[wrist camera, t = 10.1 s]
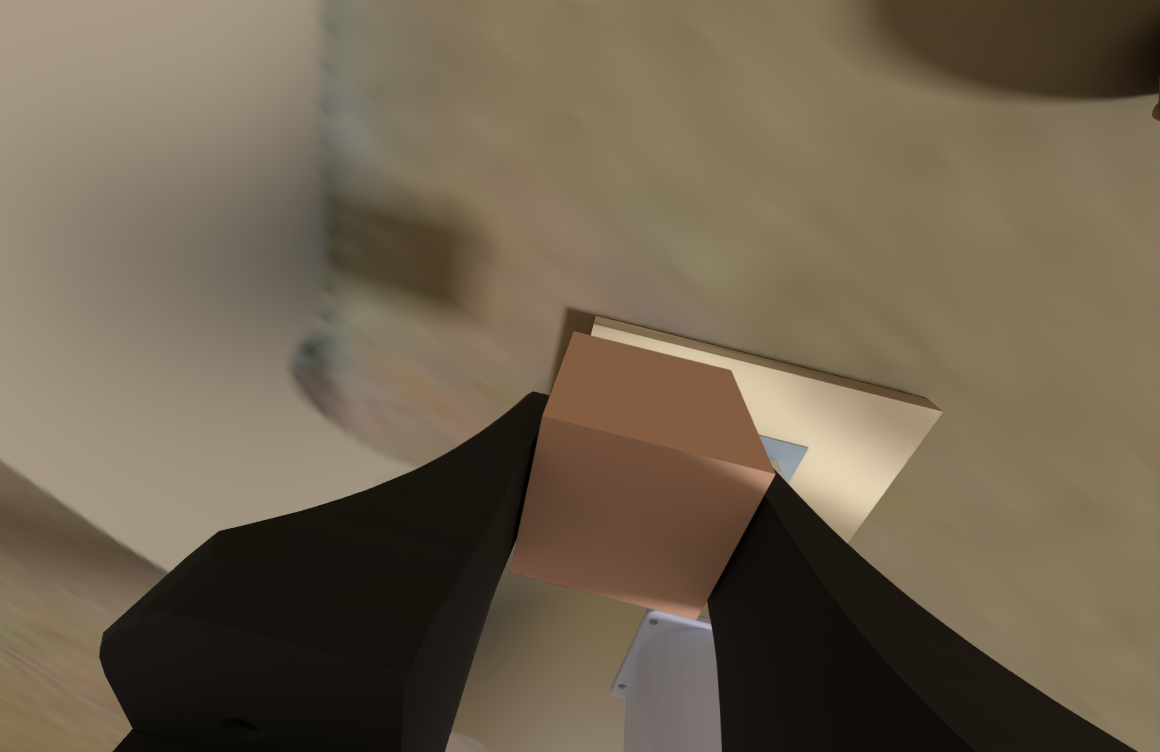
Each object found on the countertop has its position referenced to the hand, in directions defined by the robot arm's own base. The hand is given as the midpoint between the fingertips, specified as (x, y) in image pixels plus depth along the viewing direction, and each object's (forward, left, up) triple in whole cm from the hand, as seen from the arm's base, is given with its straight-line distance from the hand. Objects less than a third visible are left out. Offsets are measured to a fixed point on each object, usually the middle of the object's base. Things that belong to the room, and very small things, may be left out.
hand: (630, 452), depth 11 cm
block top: (0, 0, -2) cm, 2 cm away
